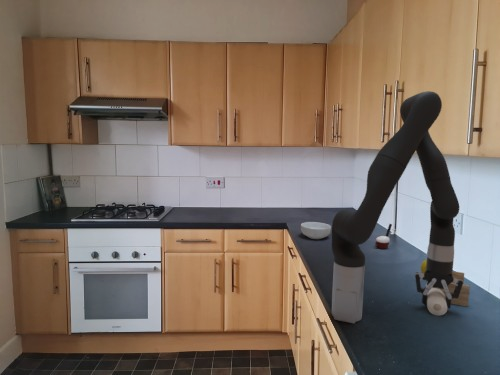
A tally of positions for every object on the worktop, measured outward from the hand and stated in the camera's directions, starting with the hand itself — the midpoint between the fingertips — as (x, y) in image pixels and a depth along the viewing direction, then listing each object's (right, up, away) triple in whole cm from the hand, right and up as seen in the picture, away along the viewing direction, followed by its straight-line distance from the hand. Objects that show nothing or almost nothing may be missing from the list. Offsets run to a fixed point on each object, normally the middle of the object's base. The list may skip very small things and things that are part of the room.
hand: (435, 306), depth 117 cm
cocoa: (+7, +8, +66) cm, 66 cm away
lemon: (+10, +2, +26) cm, 28 cm away
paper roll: (0, +2, 0) cm, 2 cm away
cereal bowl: (-24, +11, +84) cm, 88 cm away
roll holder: (+10, 0, +10) cm, 14 cm away
